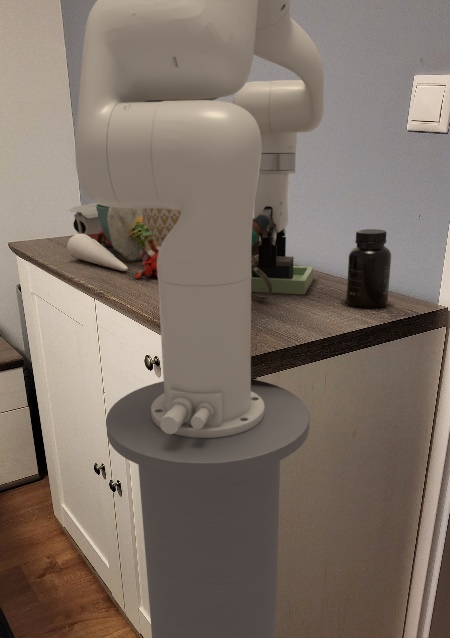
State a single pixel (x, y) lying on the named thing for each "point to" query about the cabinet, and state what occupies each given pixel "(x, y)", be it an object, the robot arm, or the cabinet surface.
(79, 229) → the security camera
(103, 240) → the dental model
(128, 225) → the fossil
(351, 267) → the supplement bottle
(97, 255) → the long cone
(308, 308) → the cabinet surface
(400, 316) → the cabinet surface
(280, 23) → the robot arm
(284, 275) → the back pad
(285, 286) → the rectangular tray
